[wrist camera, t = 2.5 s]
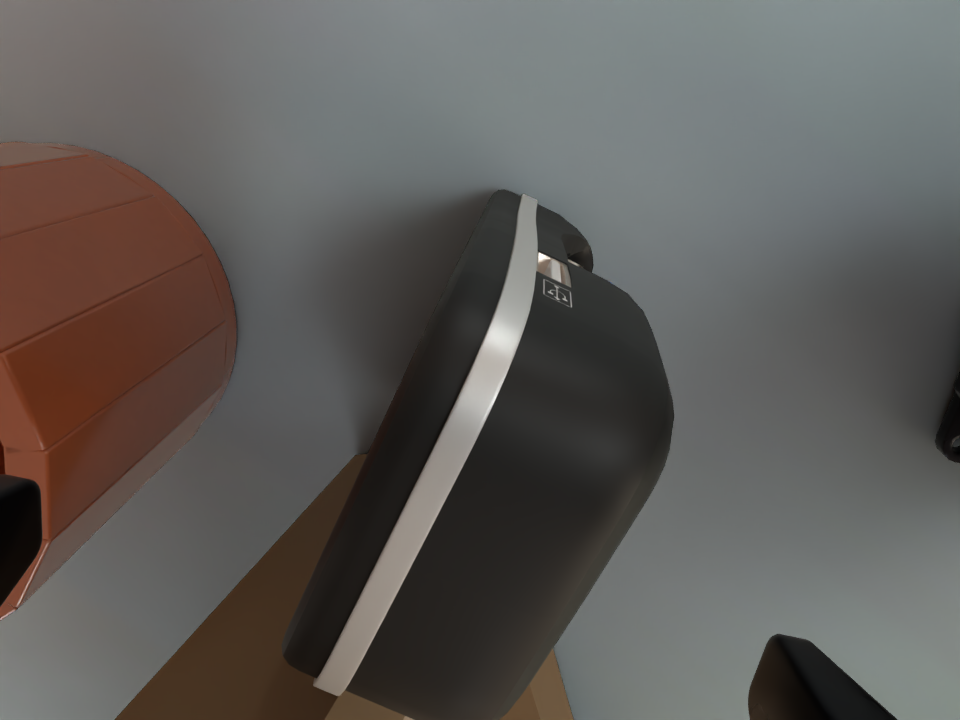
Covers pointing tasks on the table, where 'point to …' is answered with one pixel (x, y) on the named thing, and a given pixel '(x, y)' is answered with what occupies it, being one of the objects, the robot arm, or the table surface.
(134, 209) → the terracotta pot
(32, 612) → the table surface
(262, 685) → the photo frame
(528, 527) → the battery charger
